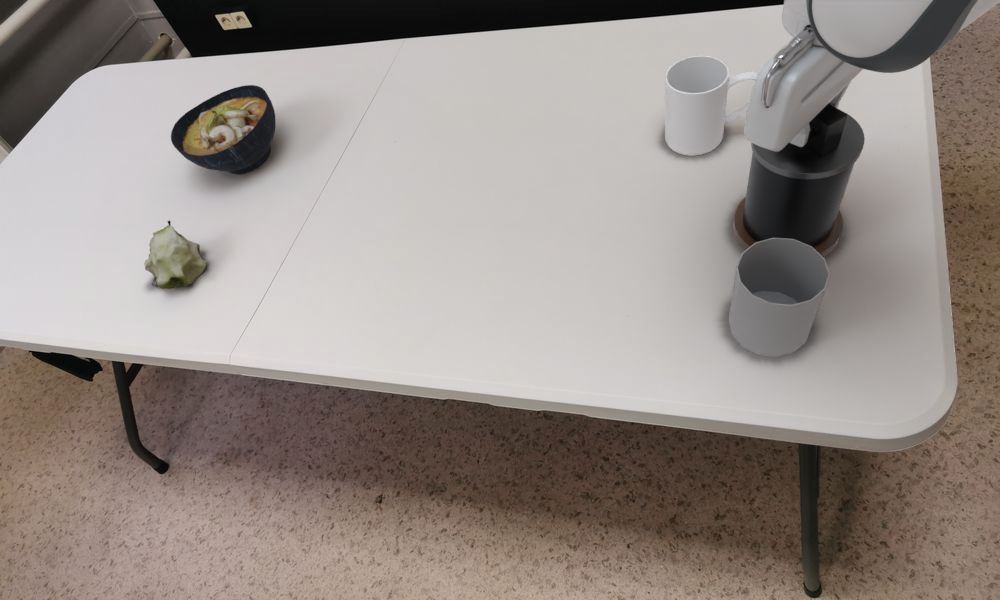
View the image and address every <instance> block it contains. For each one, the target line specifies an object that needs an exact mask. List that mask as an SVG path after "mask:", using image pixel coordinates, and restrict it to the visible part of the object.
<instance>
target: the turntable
mask: <svg viewBox="0 0 1000 600" xmlns="http://www.w3.org/2000/svg"><path fill="white" fill-rule="evenodd" d="M745 200H746V196H745V197H744V198H743V199H742V200H741V201H740V203H738V205H737V207H736V209H735V212H734V215H733V222H732V223H733V224H732V231H733V235H734V239H735V241H736V242H737V245H739V246H740V248H741V249H742V250H743V252H744V251H745V250H746V249H748V248H749V247H750V246H752V245H753V244H754V243H756V242H757V241H755V240H754V239H753V238H752V237H751V236H750V235H749V234H748V232H747V231H746V229H745V227H744V223H743V213H744V207H745ZM843 228H844V221H843V216H842V213H841V211H840V210H839V211H838V214H837V217H836V220H835V223H834V226H833V229H832V231H831V233H830V235H829V236H828V238H827V239H826V240H825V241H823V242H822V243H821V244H819V245H817V246H815V247H813V248H814V249H815V250H816V251H817V252H818V253H819V254H820V255H821V256H822V257H824V258H825V257H827V256H829V255H830V254H831V253H832V252H833V250H834V249H836V246H837V245H838V243H839V240H840V237H841V235H842V232H843Z"/></svg>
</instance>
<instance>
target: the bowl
mask: <svg viewBox="0 0 1000 600" xmlns="http://www.w3.org/2000/svg"><path fill="white" fill-rule="evenodd" d="M270 98H271V97H269V95H268V93H267V91H266V90H265V89H264V88H263V87H261V86H259V85H254V84H248V85H241V86H237V87H233V88H230V89H228V90H224V91H222V92H220V93H218V94H216V95H214V96H212V97H210V98H207V99H206V100H204V101H202V102H201V103H199V104H198V105H196V106H194V107H192V108H191V109H190V110H188V111H186V113H184V114H183V115H181V117H180V118H178V119H177V121H176V122H175V123H174V125H173V126H172V130H171V131H170V132H171V133H170V142H171V144H172V146H173V147H174V148H175V149H176V150H177V151H178V152H179V153H180V155H182V157H184V158H185V159H186V160H187V161H189V162H191V163H192V164H194V165H197V166H198V167H201V168H204V169H207V170H213V171H219V172H228V173H230V174H232V175H244V174H247V173H250V172H253V171H255V170H257V169H258V168H259V167H261V166H262V165H263V164H264V163H266V161H267V160H268V159H269V157H270V155H271V152H272V142H273V139H274V136H275V132H276V122H277V121H276V111H275V108H274V105H273V102H272V100H271V99H270Z"/></svg>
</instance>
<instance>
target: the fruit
mask: <svg viewBox="0 0 1000 600" xmlns="http://www.w3.org/2000/svg"><path fill="white" fill-rule="evenodd" d="M167 224H168V225H166V226H165V227H163V228H162V229H159V230H157V231H154V232H152V236H153V237H152V238H150V241H149V254H148V259H147V258H146V260H145V261H144V263H143V264H144V269H145V271H147V272H149V273H150V274H152V276H153V277H154V278H153V280H152V281H151V285H152V286H154V287H156V286H157V287H159V288H160V289H162V290H173V289H178V288H182V287H187V286H190V285H191V284H194V283H195V282H196V281H197V280H198V279H199V278H200V277H201V276H202V274H204V272H205V269H206V266H207V261H206V260H204V259H202V257H201V255H200V252H201V249H200V248H201V247H200V246H201V245H200V243H196V242H193V241H191V240H189V239H187V238H186V237H185V236H184V235H183V234H181V233H179V232H178V231H177V230H176V229H175V228H174V226H173V225H171V220H167Z"/></svg>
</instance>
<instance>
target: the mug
mask: <svg viewBox="0 0 1000 600" xmlns="http://www.w3.org/2000/svg"><path fill="white" fill-rule="evenodd" d="M758 74H759V72H756V71H745V72H742V73H739V74H737V75H734V76H732V77H730V69H729V66H728V65H727V64H726V63H725V62H724V61H723V60H722V59H719V58H717V57H714V56H709V55H693V56H692V55H691V56H687V57H685V58H682V59H679V60H678V61H676V62H674V63H673V64H671V65H670V66H669V67H668V68H667V70H666V72H665V76H664V138H665V143H666V144H667V146H668V148H669V149H670V150H672V151H673V152H674V153H677V154H678V155H679V154H680V155H683V156H689V157H690V156H691V157H695V156H702V155H705V154H708V153H710V152H712V151H714V150H715V149H717V148H718V146H720V144H721V143H722V141H723V139H724V133H725V125H727V124H728V123H732V122H733V121H735V120H736V119H739V118H740V117H742V116H744V115H745V114H747V111H748V106H749V102H750V100H749V101H748V102H747V103H746V104H744V105H743V106H742V107H740V108H738V109H737V110H735V111H733V112H731V113H729V114H727V115H726V111H727V101H728V92H729V91H728V90H729V89H730V88H731V87H733V86H735V85H737V84H739V83H741V82H745V81H750V80H752V81H754V82H755V81H756V78H757V76H758Z"/></svg>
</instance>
